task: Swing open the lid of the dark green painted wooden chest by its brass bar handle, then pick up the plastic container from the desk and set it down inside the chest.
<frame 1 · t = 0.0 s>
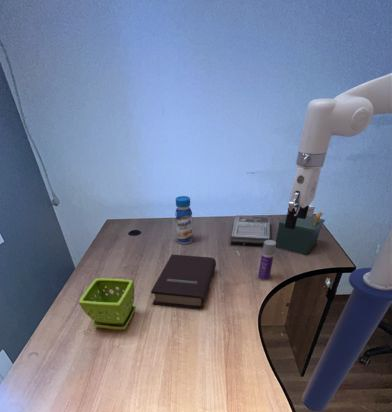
hand: (295, 222, 86), 25 cm above the table, tool pointing down, fingers open, 9 cm apart
hard drive: (250, 234, 140), on the table
lid: (303, 217, 120), point 13 cm above the table, hinge at 0.0°
ink box: (299, 229, 142), on the table
book: (186, 286, 108), on the table
flower pot: (116, 320, 94), on the table
beverage bottle: (185, 241, 137), on the table
chest: (295, 245, 130), on the table
container: (263, 277, 111), on the table
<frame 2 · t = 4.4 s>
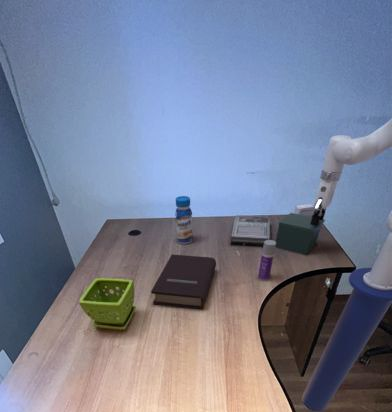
hand: (316, 221, 118), 12 cm above the table, tool pointing down, fingers closed on lid, 6 cm apart
lid: (303, 217, 120), point 13 cm above the table, hinge at 0.0°, touching gripper
everything else where it was.
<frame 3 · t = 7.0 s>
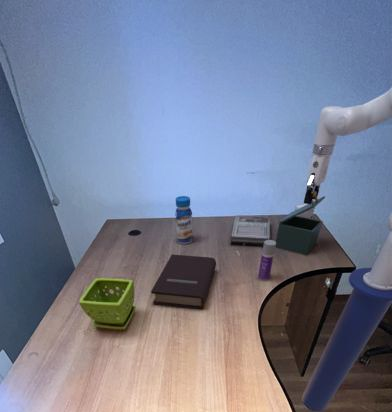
hand: (310, 200, 114), 20 cm above the table, tool pointing down, fingers closed on lid, 6 cm apart
lid: (299, 205, 118), point 18 cm above the table, hinge at 35.3°, touching gripper
everything else where it was.
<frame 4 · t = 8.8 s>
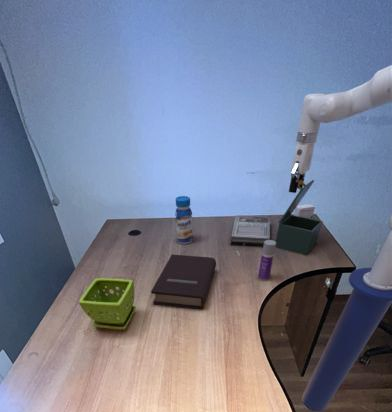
hand: (295, 189, 115), 23 cm above the table, tool pointing down, fingers closed on lid, 6 cm apart
lid: (292, 199, 118), point 20 cm above the table, hinge at 65.5°, touching gripper
everything else where it was.
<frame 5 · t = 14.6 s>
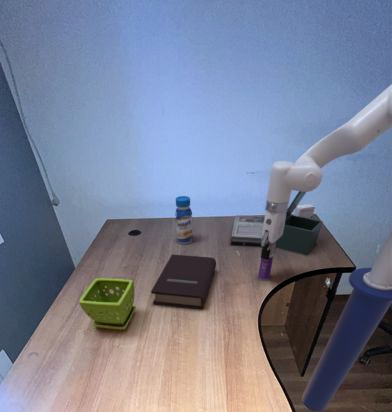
hand: (267, 255, 103), 10 cm above the table, tool pointing down, fingers closed on container, 4 cm apart
lid: (292, 199, 118), point 20 cm above the table, hinge at 66.0°
container: (263, 277, 111), on the table, touching gripper
everything else where it was.
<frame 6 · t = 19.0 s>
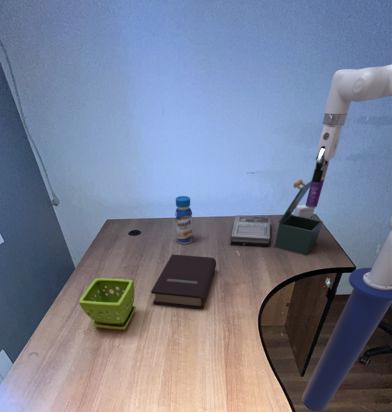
hand: (318, 179, 106), 29 cm above the table, tool pointing down, fingers closed on container, 4 cm apart
container: (311, 206, 113), point 19 cm above the table, touching gripper
everything else where it was.
when the fingers open (11 cm above the table, at t = 23.7 s): container stays where it is, resting on chest.
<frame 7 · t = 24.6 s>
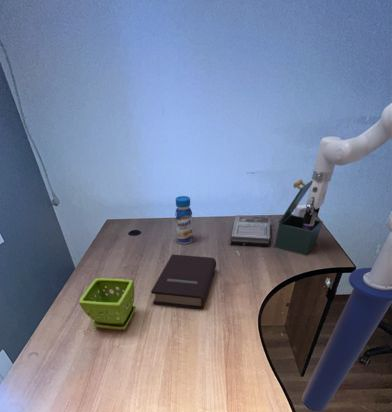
hand: (309, 220, 119), 13 cm above the table, tool pointing down, fingers open, 9 cm apart
container: (302, 245, 128), point 1 cm above the table, touching chest
everything else where it was.
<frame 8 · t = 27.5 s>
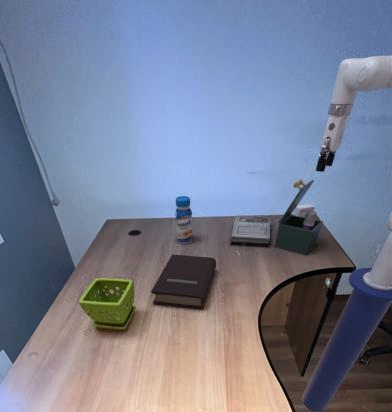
hand: (323, 168, 105), 32 cm above the table, tool pointing down, fingers open, 9 cm apart
nothing on the table moved.
at the end: lid at +66° (first picture: +0°); container inside the target area in the chest (3.5 cm from its centre), point 0.6 cm above the chest's base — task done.
